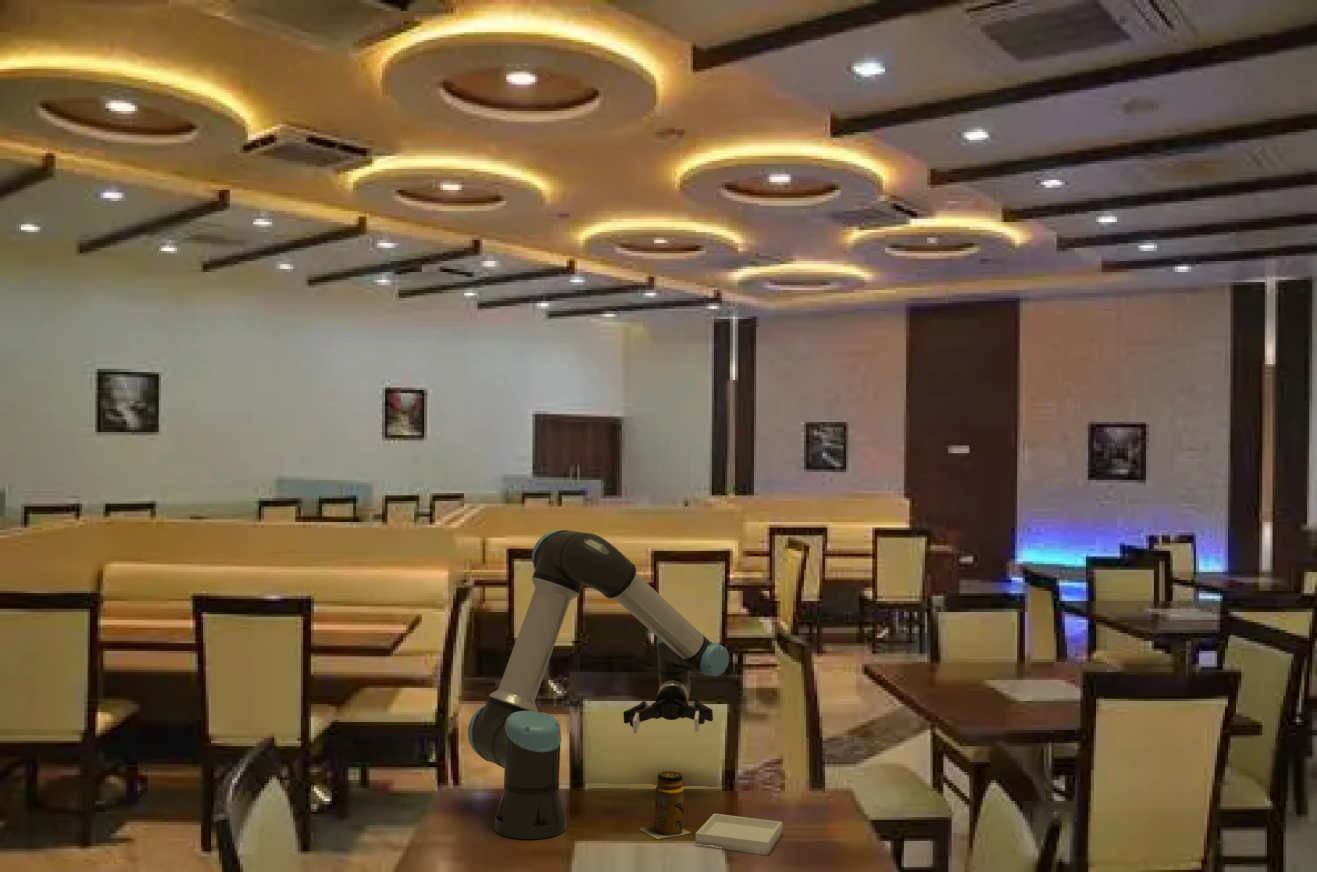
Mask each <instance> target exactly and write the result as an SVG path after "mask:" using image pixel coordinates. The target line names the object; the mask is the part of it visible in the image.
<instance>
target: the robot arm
mask: <svg viewBox="0 0 1317 872" xmlns="http://www.w3.org/2000/svg"><path fill="white" fill-rule="evenodd" d="M531 562H532V564H533V569H534V571H533V574H532V577H531V581H532V583H533V586H534V590H533V594H532V596H531V599H530V602H529V604H528V608H527V611H526V613H525V614H524V615H525V616H524V618H523V621H522V624H521V626H520V629H519V632H518V634H517V638H516V641H515V643H514V646H513V648H512V651H511V654H510V657H509V659H508V663H507V665H506V668H505V670H504V673H503V676H502V678H501V681H500V684H499V687H498V688H497V690H496V691H493V692H490V693H489V695H488V697H487V699H486V703H485V705H484V706H483V705H482V707H480V708H479V709H477V710H476V711H475V712H474V713H473V714H472V717H471V718H470V720H469V723H468V728H467V737H468V738H467V739H468V742H469V745H470V747H471V748H472V750H473V751H474V752H475V753H476V754H477V755H478V756H480V758H482V759H483V760H484V761H486V762H489V763H492V764H494V765H497V766H499V767H501V768H503V771H504V773H503V774H504V776H503V777H504V778H503V781H504V782H503V792H502V796H501V798H500V802H499V803H498V807H497V811H496V813H495V816H494V823H493V825H494V831H495V832H496V833H498V834H499V835H501V836H503V837H506V838H510V839H511V838H512V839H518V840H540V839H545V838H552V837H555V836H558V835H560V834H563V832H565V831H566V829H567V815H566V811H565V807H564V804H563V801H562V797H561V794H560V763H561V742H562V734H561V733H562V731H561V724H560V722H559V720H558V719H557V718H556V717H554V716H553V715H551V714H549V713H546V712H543V711H542V712H539V709H538V708H537V705H536V703H535V702H536V699H537V695H538V693H539V690H540V687H541V684H542V682H543V679H544V675H545V673H546V671H547V667H548V665H549V661H550V658H551V657H552V653H553V651H554V648H555V645H556V643H557V639H558V637H559V634H560V631H561V628H562V625H563V623H564V620H565V617H566V614H567V611H568V608H569V606H570V603H571V601H572V600H574V599H576V598H579V596H580V594H581V591H582V589H583V586H587V587H589V588H592V589H594V590H595V591H597V592H599V593H600V594H602V595H603V596H604V597H605V598H607V599H609V600H612V599H613V600H615V601H617V602H618V603H619V604H620V605H621V606H622V607H623V608H625V610H627V611H628V612H629V613H630V614H632V616H633V617H634V618H635V619H637V620H638V622H640V623H641V624H642V625H643V626H645V627H646V628H647V629H648V630H649V631H650V632H651V633H652V634H653V635H654V636H656V637H657V640H656V641H657V642H656V648H657V649H656V651H657V661H658V684H659V686H658V687H659V688H658V692H657V693H656V694H657V695H656V697H655V701H654V702H653V703H651V704H648V703H647V701H640V703H639V704H638V705H635V706H633V707H630V708H628V709H627V710H624V711H623V713H622V714H623V724H626V725H627V724H629V726H630V727H632V732H633V734H637V733H638V730H639V727H640V723H642V722H645V721H648V720H651V719H654V720H658V719H661V718H663V719H664V720H667V721H675V720H679V719H686V718H687V719H691V720H693V721H694V732H699V730H700V725H704V724H705V723H706V721H708V722H713V721H714V715H713V709H712V708H710V707H708V706H707V705H705V704H704V703H701V702H700V700H699V699H695V700H693V702H691V703H689V698H690V694H691V692H692V689H691V688H692V687H691V685H692V683H691V681H690V672H695V673H698V674H701V675H704V676H711V677H718V676H721V675H723V674H724V672H725V671H726V670H727V668H728V666H729V663H730V655H729V652H728V650H727V648H726V647H724V645H721V644H719V643H717V642H712V641H711V640H710V639H708V638H707V637H706V636H705V635H704V634H702V633H701V632H700V631H699V630H698V629H697V628H696V627H695V626H694V625H692V623H690V621H688V620H687V619H686V618H685V617H684V615H682V614H681V613H680V612H679V611H678V610H676V609H675V608H674V607H673V606H672V605H671V604H670V603H669V602H668V601H667V600H666V599H665V598H663V596H661V594H659V593H658V591H656V590H655V588H653V587H652V586H651V585H649V583H648V582H646V580H644V578H643V577H641V576H640V575H639V574H638V569H637V567H636V565H635V564H634V563H633V562H632V561H631V560H630V559H629V558H627V557H626V556H625V555H624V554H623V553H622V552H621V551H620V550H619V549H618V548H616V547H615V546H614V545H613V544H612V543H610V542H609V541H608V540H606V539H605V538H604V537H601V536H599V535H597V534H595V533H591V532H581V531H575V530H568V529H560V530H552V531H549V532H547V533H545V534H544V535H542V536H541V537H540V538H538V540H537V542H536V543H535V545H534V547H533V549H532V553H531Z"/></svg>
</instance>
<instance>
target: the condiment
mask: <svg viewBox="0 0 1317 872" xmlns="http://www.w3.org/2000/svg"><path fill="white" fill-rule="evenodd" d="M684 796H685V788H684V786H683V774H681V772H677V771H661V772H659V773H658V775H657V785H656V787H655V796H654V797H655V801H654V802H655V803H654V804H655V805H654V806H655V807H654V825H651V826H648V827H640V828H638V829H639V830H640V831H642V832H643V833H645V834H646V835H648V836H650V837H653V838H655V839H657V840H660V839H665V838H672V837H678V836H684V835H688V834H691V831H689V830H687V829H684V802H685V801H684V800H685V799H684Z"/></svg>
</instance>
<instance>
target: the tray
mask: <svg viewBox="0 0 1317 872" xmlns="http://www.w3.org/2000/svg"><path fill="white" fill-rule="evenodd" d="M782 835H783V821H778V820H777V821H776V820H770V819H762V818H753V817H747V816H737V815H729V814H721V813H713V814H712V815H711V816H710V817H709V819H707V821H706V822H704V823H703V825H702V826H701V827H700V828H699V829H698V830H697V831H696V832H695V845H696V844H701V845H714V846H718V847H722V848H725V849H726V850H727V851H731V852H732V851H735V852H742V853H748V854H749V853H750V854H756V855H763V856H768V855H769V854H770V853H771V851H772V850H773V848H774V847H775V845H776V844H777V842H778V841H779V839H780V837H781V836H782ZM725 849H724V850H725ZM726 850H725V851H726Z"/></svg>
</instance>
